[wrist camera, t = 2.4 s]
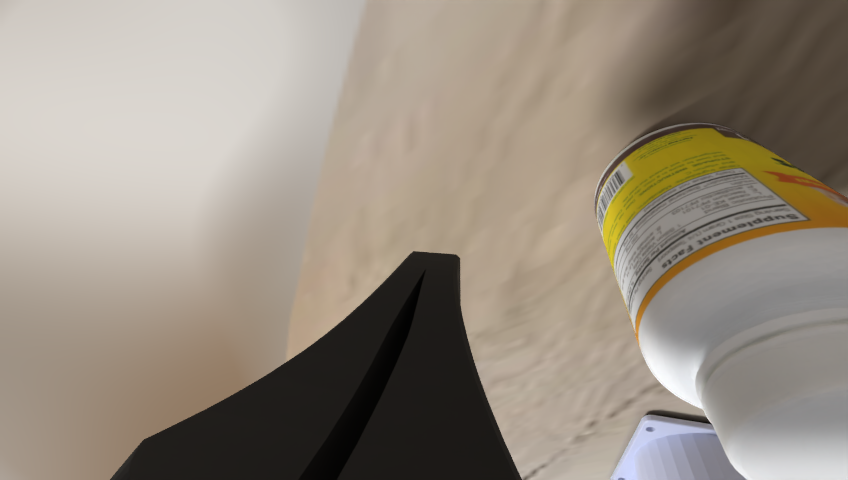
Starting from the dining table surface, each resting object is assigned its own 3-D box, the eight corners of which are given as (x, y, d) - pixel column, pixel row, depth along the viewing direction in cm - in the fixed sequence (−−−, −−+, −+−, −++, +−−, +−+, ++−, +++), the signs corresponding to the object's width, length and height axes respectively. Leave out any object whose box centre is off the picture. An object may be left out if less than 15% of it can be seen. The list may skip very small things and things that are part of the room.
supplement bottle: (769, 213, 14) (1139, 539, 6) (617, 261, 16) (716, 529, 8) (737, 83, 12) (1251, 296, 3) (569, 161, 14) (636, 388, 6)
